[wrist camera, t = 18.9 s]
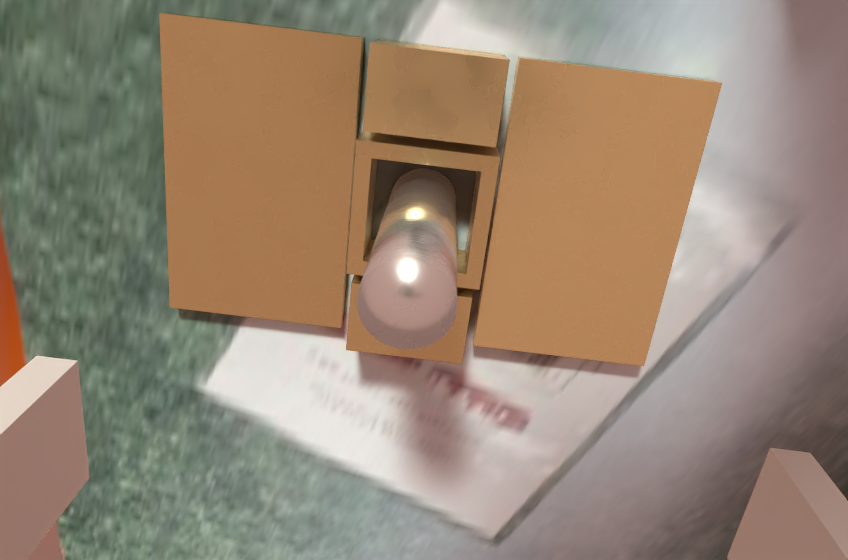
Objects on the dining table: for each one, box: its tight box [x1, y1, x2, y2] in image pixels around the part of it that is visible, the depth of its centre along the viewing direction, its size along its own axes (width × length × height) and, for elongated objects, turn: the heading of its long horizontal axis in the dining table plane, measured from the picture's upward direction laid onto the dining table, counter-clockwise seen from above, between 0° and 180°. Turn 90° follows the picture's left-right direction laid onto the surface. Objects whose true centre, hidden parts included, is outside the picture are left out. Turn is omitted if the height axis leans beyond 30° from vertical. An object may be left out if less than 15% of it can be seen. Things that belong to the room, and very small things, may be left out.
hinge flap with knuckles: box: [363, 39, 722, 366], centre depth 35 cm, size 16×17×4 cm
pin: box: [357, 168, 457, 349], centre depth 30 cm, size 4×4×14 cm
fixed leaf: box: [159, 13, 500, 364], centre depth 35 cm, size 16×17×4 cm
